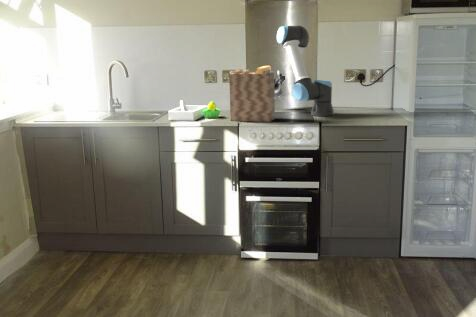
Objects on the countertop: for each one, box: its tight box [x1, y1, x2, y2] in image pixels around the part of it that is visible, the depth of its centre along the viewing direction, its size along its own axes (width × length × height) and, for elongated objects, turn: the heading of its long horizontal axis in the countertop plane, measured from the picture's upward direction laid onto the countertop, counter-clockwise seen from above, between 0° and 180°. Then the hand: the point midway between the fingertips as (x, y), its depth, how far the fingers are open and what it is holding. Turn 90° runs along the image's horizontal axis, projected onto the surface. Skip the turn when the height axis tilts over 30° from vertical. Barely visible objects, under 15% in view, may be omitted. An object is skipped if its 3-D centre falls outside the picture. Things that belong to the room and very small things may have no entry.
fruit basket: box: [202, 101, 221, 119], centre depth 342 cm, size 11×9×11 cm
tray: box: [167, 104, 208, 122], centre depth 346 cm, size 17×28×6 cm, turn 164°
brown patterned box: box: [228, 69, 276, 123], centre depth 327 cm, size 26×14×32 cm, turn 74°
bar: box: [256, 65, 272, 74], centre depth 325 cm, size 4×24×4 cm, turn 164°
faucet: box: [179, 99, 191, 111], centre depth 348 cm, size 14×11×20 cm
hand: (268, 72), depth 339 cm, fingers open, 13 cm apart
